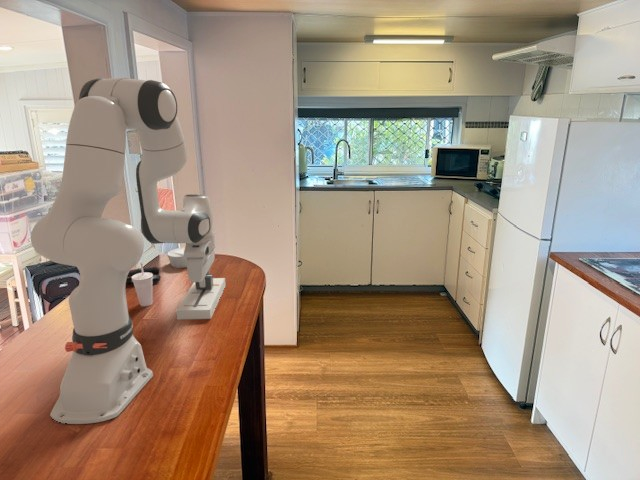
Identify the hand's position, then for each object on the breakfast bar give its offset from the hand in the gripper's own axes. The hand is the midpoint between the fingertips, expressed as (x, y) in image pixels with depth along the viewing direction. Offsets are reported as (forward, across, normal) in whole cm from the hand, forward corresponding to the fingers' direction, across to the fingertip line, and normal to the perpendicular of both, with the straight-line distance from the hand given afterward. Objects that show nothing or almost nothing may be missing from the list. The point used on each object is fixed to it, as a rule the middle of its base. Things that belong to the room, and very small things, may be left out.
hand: (204, 283), depth 141 cm
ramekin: (+5, -31, -16) cm, 35 cm away
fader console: (+5, +3, 0) cm, 6 cm away
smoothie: (+5, +4, -18) cm, 19 cm away
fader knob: (+1, 0, 0) cm, 1 cm away
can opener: (+5, -13, -28) cm, 31 cm away
